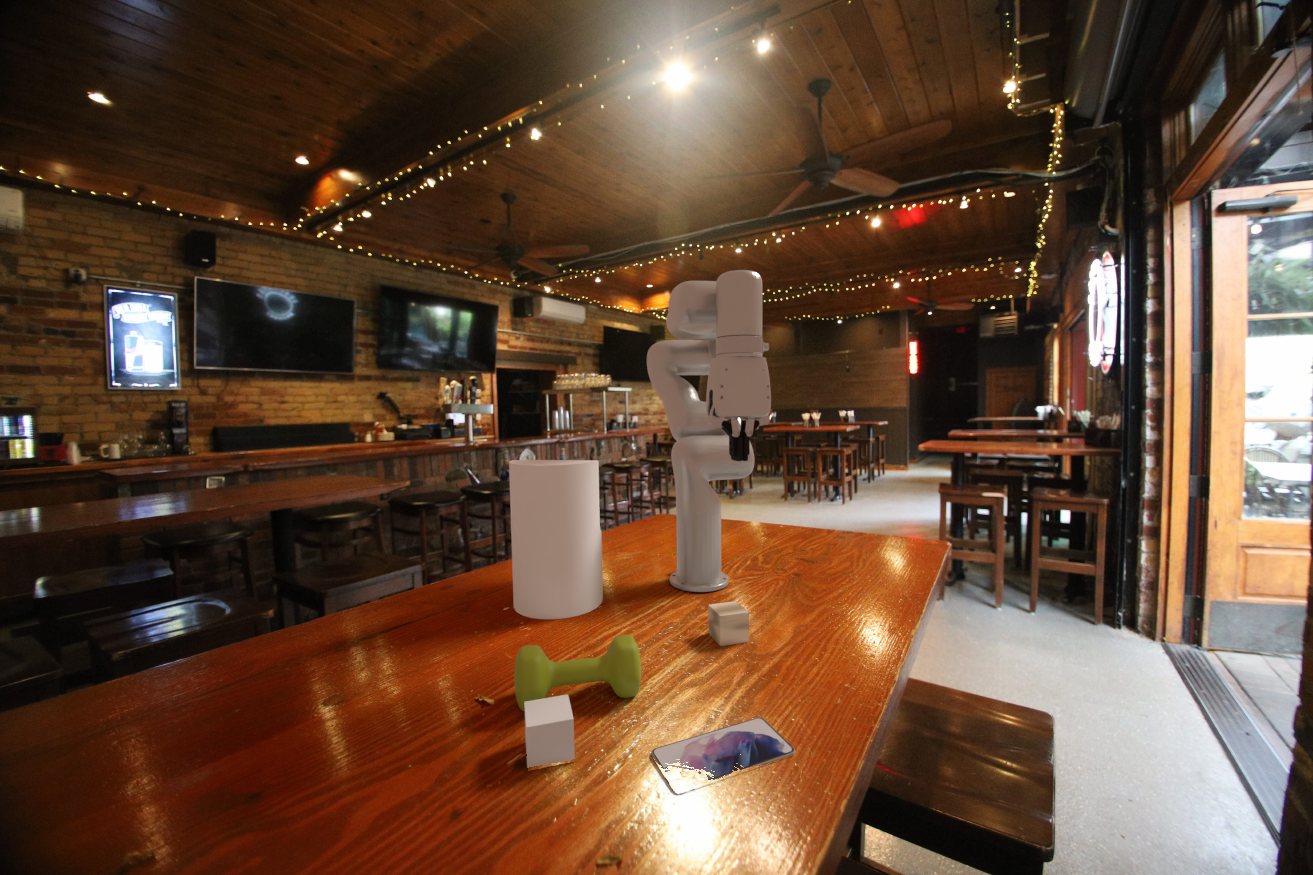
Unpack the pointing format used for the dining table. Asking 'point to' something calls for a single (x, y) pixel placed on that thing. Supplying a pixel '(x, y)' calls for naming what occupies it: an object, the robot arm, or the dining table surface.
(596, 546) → the cylinder
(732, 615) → the maple block
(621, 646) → the dumbbell
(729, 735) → the smartphone
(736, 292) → the robot arm
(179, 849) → the dining table surface
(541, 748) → the grey block
